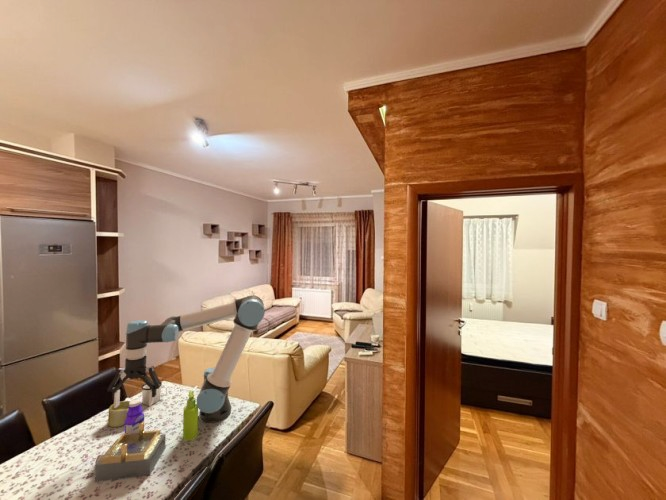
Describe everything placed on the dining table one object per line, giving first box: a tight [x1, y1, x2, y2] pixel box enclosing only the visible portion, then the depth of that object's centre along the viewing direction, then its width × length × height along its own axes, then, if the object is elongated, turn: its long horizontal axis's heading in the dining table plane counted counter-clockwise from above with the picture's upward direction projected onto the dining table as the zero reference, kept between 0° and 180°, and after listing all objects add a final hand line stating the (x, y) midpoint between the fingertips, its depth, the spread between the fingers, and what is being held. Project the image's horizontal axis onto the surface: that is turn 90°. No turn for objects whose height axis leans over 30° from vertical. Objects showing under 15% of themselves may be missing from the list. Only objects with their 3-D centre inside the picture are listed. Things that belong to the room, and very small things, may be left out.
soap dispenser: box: [182, 390, 199, 442], centre depth 124 cm, size 6×7×20 cm
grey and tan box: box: [94, 421, 167, 483], centre depth 108 cm, size 21×15×12 cm
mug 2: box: [140, 380, 168, 406], centre depth 153 cm, size 12×10×9 cm
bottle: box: [124, 398, 145, 433], centre depth 121 cm, size 7×6×17 cm
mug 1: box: [107, 400, 131, 428], centre depth 133 cm, size 12×10×10 cm
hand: (134, 405), depth 120 cm, fingers open, 13 cm apart
